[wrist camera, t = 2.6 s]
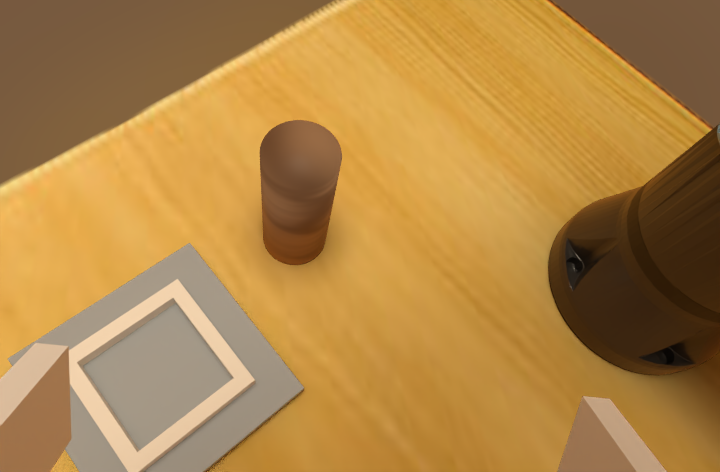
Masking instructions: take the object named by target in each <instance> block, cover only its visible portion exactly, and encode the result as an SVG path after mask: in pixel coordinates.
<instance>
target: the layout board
mask: <svg viewBox="0 0 720 472" xmlns="http://www.w3.org/2000/svg"><path fill="white" fill-rule="evenodd" d="M35 343H42V344H52V345H63V346H69V373H70V406H71V440H70V442H69V443H68V445H67V446H66V448H65V450H66V451H67V453H68V455H69V456H70V458H71V459H72V461H73V462H74V464H75V466H76V467H77V469H78V470H79V472H206V471H207V470H208V469H209V468H210V467H212V466H213V465H214V464H215V463H216V462H218V461H219V460H220V459H221V458H222V457H224V456H225V455H226V454H227V453H228V452H230V451H231V450H232V449H233V448H235V447H236V446H237V445H238V444H239V443H241V442H242V441H243V440H244V439H245V438H247V437H248V436H249V435H250V434H251V433H253V432H254V431H255V430H256V429H257V428H259V427H260V426H261V425H262V424H263V423H265V422H266V421H267V420H268V419H270V418H271V417H272V416H273V415H274V414H276V413H277V412H278V411H279V410H280V409H282V408H283V407H284V406H285V405H286V404H288V403H289V402H290V401H291V400H292V399H294V398H295V397H296V396H297V395H298V394H300V393H301V392H302V391H303V390H304V387H303V386H302V384H301V383H300V382H299V381H298V379H297V378H296V377H295V376H294V374H293V373H292V372H291V371H290V369H289V368H288V367H287V365H286V364H285V363H284V362H283V360H282V359H281V358H280V357H279V355H278V354H277V353H276V352H275V350H274V349H273V348H272V346H271V345H270V344H269V343H268V341H267V340H266V339H265V338H264V336H263V335H262V334H261V333H260V331H259V330H258V329H257V327H256V326H255V325H254V324H253V322H252V321H251V320H250V319H249V317H248V316H247V315H246V314H245V312H244V311H243V310H242V308H241V307H240V306H239V305H238V303H237V302H236V301H235V300H234V298H233V297H232V296H231V294H230V293H229V292H228V291H227V289H226V288H225V287H224V286H223V284H222V283H221V282H220V281H219V279H218V278H217V277H216V275H215V274H214V273H213V272H212V270H211V269H210V268H209V267H208V265H207V264H206V263H205V262H204V260H203V259H202V258H201V256H200V255H199V254H198V253H197V251H196V250H195V249H194V248H193V246H192V245H191V244H190V243H189V244H187V245H185V246H184V247H182V248H181V249H179V250H178V251H176V252H174V253H173V254H171V255H170V256H168V257H167V258H165V259H163V260H162V261H160V262H159V263H157V264H156V265H154V266H152V267H151V268H149V269H148V270H146V271H145V272H143V273H141V274H140V275H138V276H137V277H135V278H134V279H132V280H130V281H129V282H127V283H126V284H124V285H123V286H121V287H119V288H118V289H116V290H115V291H113V292H112V293H110V294H109V295H107V296H105V297H104V298H102V299H101V300H99V301H98V302H96V303H94V304H93V305H91V306H90V307H88V308H87V309H85V310H83V311H82V312H80V313H79V314H77V315H76V316H74V317H72V318H71V319H69V320H68V321H66V322H65V323H63V324H61V325H60V326H58V327H57V328H55V329H54V330H52V331H50V332H49V333H47V334H46V335H44V336H43V337H41V338H39V339H38V340H36V341H35V342H33V343H32V344H30V345H28V346H27V347H25V348H24V349H22V350H21V351H19V352H17V353H16V354H14V355H13V356H11V357H10V358H8V360H9V362H10V363H11V365H12V366H14V364H15V363H16V362H17V361H18V360H19V359H20V358H21V357H22V356H23V355H24V354H25V353H26V352H27V351H28V350H29V349H30V348H31V347H32V346H33V345H34V344H35Z"/></svg>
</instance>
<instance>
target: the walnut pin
mask: <svg viewBox="0 0 720 472" xmlns="http://www.w3.org/2000/svg"><path fill="white" fill-rule="evenodd" d="M341 160H342V153H341V148H340V145H339V143H338V141H337V139H336V138H335V137H334V135H333V134H332V133H331V132H330V131H329V130H327V129H326V128H324V127H323V126H321V125H319V124H316V123H313V122H310V121H303V120H294V121H288V122H285V123H282V124H279V125H277V126H276V127H274V128H273V129H271V130H270V131H269V132H268V133H267V135H266V136H265V137H264V139H263V141H262V143H261V147H260V170H261V194H262V217H263V240H264V244H265V247H266V249H267V251H268V252H269V253H270V254H271V255H272V256H273V257H274V258H275V259H277V260H278V261H280V262H282V263H285V264H290V265H300V264H304V263H307V262H309V261H311V260H313V259H314V258H316V257H317V256H318V255H319V254H320V252H321V251H322V249H323V247H324V244H325V239H326V235H327V230H328V225H329V220H330V215H331V210H332V205H333V200H334V195H335V190H336V185H337V180H338V176H339V171H340V166H341Z"/></svg>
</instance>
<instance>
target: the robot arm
mask: <svg viewBox="0 0 720 472" xmlns="http://www.w3.org/2000/svg"><path fill="white" fill-rule="evenodd" d="M549 278H550V284H551V288H552V292H553V295H554V298H555V301H556V304H557V306H558V308H559V310H560V312H561V314H562V316H563V317H564V319H565V321H566V322H567V324H568V325H569V326H570V328H571V329H572V330H573V332H574V333H575V334H576V335H577V336H578V337H579V339H580V340H581V341H582V342H583V343H584V344H585V345H587V346H588V347H589V348H590V349H591V350H592V351H594V352H595V353H596V354H598V355H599V356H601V357H602V358H604V359H605V360H607V361H609V362H610V363H612V364H614V365H616V366H619V367H621V368H623V369H626V370H629V371H632V372H636V373H641V374H648V375H665V374H671V373H675V372H679V371H682V370H685V369H689V368H692V367H695V366H698V365H700V364H702V363H704V362H705V361H707V360H709V359H711V358H712V357H713V356H715V355H716V354H717V353H718V352H719V351H720V124H719V125H717V126H716V127H715V128H714V129H712V130H711V131H710V132H709V133H708V134H706V135H705V136H704V137H703V138H701V139H700V140H699V141H698V142H697V143H695V144H694V145H693V146H692V147H690V148H689V149H688V150H687V151H685V152H684V153H683V154H682V155H680V156H679V157H678V158H677V159H676V160H674V161H673V162H672V163H671V164H669V165H668V166H667V167H666V168H664V169H663V170H662V171H661V172H659V173H658V174H657V175H656V176H655V177H653V178H652V179H651V180H650V181H649V182H647V183H646V184H645V185H644V186H642V187H639V188H636V189H633V190H629V191H626V192H623V193H620V194H616V195H613V196H610V197H607V198H604V199H600V200H598V201H595V202H593V203H592V204H590V205H588V206H586V207H585V208H583V209H582V210H581V211H579V212H578V213H577V214H576V215H575V216H574V217H573V218H571V219H570V220H569V221H568V222H567V223H566V224H565V225H564V226H563V228H562V229H561V230H560V231H559V233H558V235H557V236H556V238H555V240H554V243H553V245H552V248H551V253H550V258H549ZM70 440H71V406H70V373H69V346H63V345H52V344H42V343H35V344H34V345H33V346H32V347H31V348H30V349H29V350H28V351H27V352H26V353H25V354H24V355H23V356H22V357H21V358H20V359H19V360H18V361H17V362H16V363H15V364H14V366H13V367H12V368H11V369H10V370H9V371H8V372H7V373H6V374H5V375H4V376H3V377H2V378H1V379H0V472H50V471H51V470H52V468H53V467H54V465H55V463H56V462H57V460H58V459H59V457H60V456H61V454H62V453H63V451H64V450H65V448H66V446H67V445H68V443H69V442H70ZM557 472H667V471H666V470H665V469H664V467H663V466H662V465H661V463H660V462H659V461H658V460H657V458H656V457H655V456H654V455H653V453H652V452H651V451H650V449H649V448H648V447H647V446H646V444H645V443H644V442H643V441H642V439H641V438H640V437H639V435H638V434H637V433H636V432H635V430H634V429H633V428H632V426H631V425H630V424H629V423H628V421H627V420H626V419H625V418H624V416H623V415H622V414H621V412H620V411H619V410H618V409H617V407H616V406H615V405H614V404H613V402H612V401H611V400H610V399H607V398H597V397H587V396H582V399H581V402H580V405H579V408H578V411H577V414H576V417H575V420H574V423H573V426H572V429H571V432H570V435H569V438H568V441H567V444H566V447H565V450H564V453H563V456H562V459H561V462H560V465H559V468H558V471H557Z"/></svg>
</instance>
